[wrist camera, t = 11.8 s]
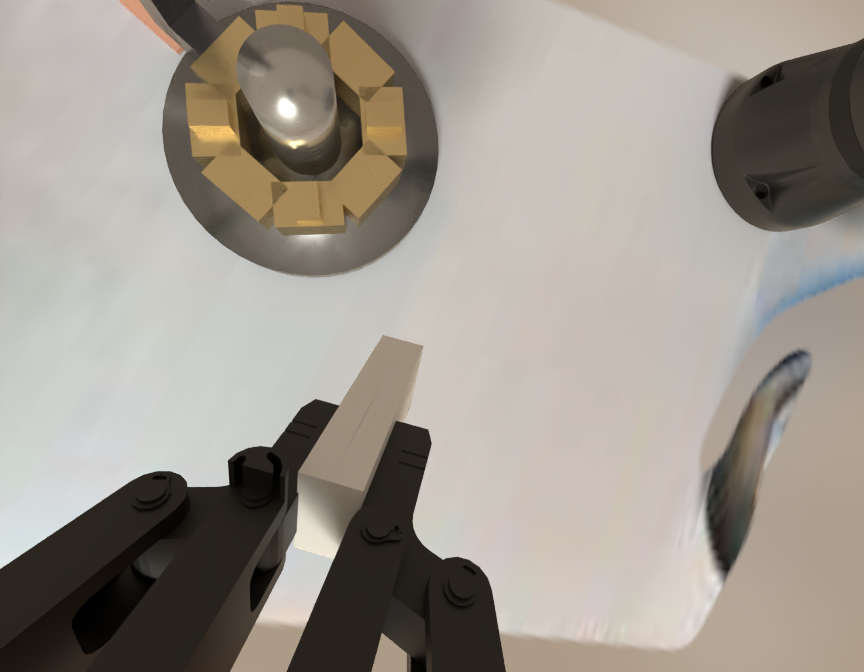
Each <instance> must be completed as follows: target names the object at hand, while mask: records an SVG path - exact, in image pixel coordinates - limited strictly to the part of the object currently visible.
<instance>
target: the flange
mask: <svg viewBox="0 0 864 672" xmlns="http://www.w3.org/2000/svg"><path fill="white" fill-rule="evenodd" d="M276 5H297V6H303V11H304V12H312V13H327V15H328V23H329V32H330V34H331V33H332V32H333V31H334V30H335V29H336V28H337V27H338V26H339V25H340V24H341V23H342V22H343V21H344V22H345V23H346V24H347V25H348V26H349V27H350V28H351V29H352V30H353V31H354V32H355V33H356V34H357V35H358V36H359V37H361V38H362V39H363V40H364V41H365V42H366V43H367V44H368V45H369V46H370V47H371V48H372V49H373V50H374V51H375V52H376V53H377V54H378V55H379V56H380V57H381V58H382V59H383V60H384V61H385V62H386V63H387V64H388V65H389V66H390V67H391V68H392V69H393V70H394V71H395V77H394V84H393V87H402V90H403V104H404V118H405V133H406V147H407V157H406V161H405V164H404V168H403V170H402V172H401V176H400V180H399V183H398V184H397V185H396V187H395V188H394V189H393V190H392V191H391V192H390V193H389V194H388V196H387V197H386V198H385V199H384V200H383V201H382V202H381V203H380V205H379V206H378V207H377V208H376V209H375V210H374V211H373V212H372V214H371V215H370V216H369V217H368V218H367V219H366V220H365V221H364V223H363V224H362V225H361V226H360V227H358V226H357V225H356V224H355V223H354V222H353V221H352V220H351V219H349V218H348V217H347V216H346V215H345V225H346V233H344V234H317V235H290V236H283V235H282V234H281V233H280V232H279V231H278V230H277V229H276V228H275V224H274V225H273V226H272V227H271V228H270V229H269V230H267V229H266V228H265V227H264V226H263V225H261V224H260V223H259V222H258V221H257V220H256V219H254V218H253V217H252V216H251V215H250V214H249V213H247V212H246V211H245V210H244V209H243V208H242V207H240V206H239V205H238V204H237V203H236V202H235V201H233V200H232V199H231V198H230V197H229V196H228V195H226V194H225V193H224V192H223V191H222V190H221V189H219V188H218V187H217V186H216V185H215V184H214V183H212V182H211V181H210V180H209V179H208V178H207V177H206V176H204V175H203V174H202V173H201V172H202V171H203V170H204V169H205V168H204V167H203V166H202V165H201V164H200V163H199V162H198V161H197V160H196V159H194V158H193V157H192V148H191V138H190V129H189V126H188V116H187V107H186V90H185V83H201V81H200V80H199V78H198V77H197V76H196V74H195V73H194V71H193V70H192V68H191V67H190V66H191V65H192V64H193V63H194V62H195V61H196V60H195V59H194V58H193V57H192V56H191V55H190V54H188V53H186V54H185V55H184V57H183V58H182V60H181V61H180V63H179V65H178V67H177V69H176V71H175V73H174V75H173V77H172V80H171V83H170V85H169V88H168V91H167V94H166V100H165V105H164V110H163V127H162V132H163V143H164V151H165V155H166V159H167V164H168V168H169V171H170V173H171V176H172V178H173V181H174V184H175V186H176V188H177V190H178V192H179V194H180V196H181V197H182V199H183V201H184V203H185V204H186V206H187V207H188V209H189V210H190V211H191V213H192V214H193V216H194V217H195V218H196V220H197V221H198V222H199V223H200V224H201V225H202V226H203V227H204V228H205V229H206V230H207V231H208V233H210V234H211V235H212V236H213V237H214V238H215V239H217V240H218V241H219V242H220V243H221V244H223V245H224V246H225V247H227V248H228V249H230V250H231V251H233V252H235V253H236V254H238V255H239V256H241V257H243V258H245V259H247V260H249V261H251V262H253V263H255V264H257V265H260V266H262V267H265V268H267V269H270V270H273V271H276V272H279V273H284V274H288V275H293V276H302V277H330V276H335V275H341V274H346V273H349V272H352V271H355V270H359V269H361V268H363V267H365V266H368V265H370V264H372V263H374V262H376V261H377V260H379V259H380V258H382V257H383V256H385V255H387V254H388V253H389V252H390V251H391V250H393V249H394V248H395V247H396V246H397V245H399V244H400V242H401V241H402V240H403V239H404V238H405V237H406V236H407V235H408V234H409V232H410V231H411V229H412V228H413V226H414V225H415V223H416V222H417V221H418V219H419V217H420V216H421V214H422V212H423V210H424V208H425V206H426V204H427V202H428V200H429V197H430V194H431V191H432V188H433V185H434V181H435V176H436V171H437V163H438V135H437V129H436V123H435V118H434V114H433V111H432V108H431V105H430V101H429V99H428V97H427V95H426V92H425V90H424V88H423V86H422V84H421V82H420V80H419V79H418V77H417V75H416V74H415V72H414V70H413V69H412V67H411V66H410V65H409V63H408V62H407V61H406V60H405V58H404V57H403V56H402V54H401V53H400V52H399V51H398V50H397V49H396V48H395V47H394V46H393V45H392V44H391V43H390V42H389V41H388V40H386V39H385V38H384V37H383V36H381V35H380V34H379V33H378V32H376V31H375V30H374V29H372V28H371V27H369V26H367V25H366V24H364V23H363V22H361V21H359V20H357V19H355V18H353V17H351V16H349V15H347V14H345V13H343V12H340V11H337V10H333V9H330V8H327V7H324V6H319V5H314V4H309V3H297V2H281V3H269V4H264V5H259V6H255V7H251V8H248V9H245V10H243V11H240V12H237V13H235V14H233V15H231V16H229V17H227V18H225V19H223V20H222V21H220V22H218V23H219V24H220V25H221V26H222V27H223V28H224V29H225V30H226V29H227V28H228V27H229V26H230V25H231V24H232V23H233V22H234V21H235V19H236V18H237V17H238V16H240V17H241V18H242V19H243V20H244V21H245V22H246V23H247V24H248V25H249V26H250V27H251V28H252V29H253V30H254V31H255V32H253V33H252V34H251V35H250V36H249V37H248V38H247V39H246V40H245V41H244V43H243V44H242V46H241V48H240V50H239V53H238V56H237V62H236V72H237V78H238V82H239V85H240V87H241V89H242V91H243V93H244V95H245V97H246V99H247V101H248V102H249V104H250V106H251V108H252V110H253V111H252V112H251V113H250V114H249V115H248V121H249V132H250V142H251V153H252V157H253V158H254V159H255V160H257V161H258V162H259V163H260V164H261V165H262V166H263V167H265V168H266V169H267V170H268V171H269V172H270V173H271V174H272V175H274V176H275V177H276V178H277V179H278V180H279V181H280V182H296V181H332V180H333V179H334V177H335V176H336V175H337V174H338V173H339V172H340V171H341V170H342V169H343V168H344V166H345V165H346V164H347V163H348V162H349V161H350V160H351V159H352V158H353V157H354V155H355V154H356V153H357V152H358V151H359V150H360V149H361V148H362V140H361V127H360V117H359V116H358V115H357V114H356V113H355V112H354V111H353V110H352V109H351V108H350V107H349V106H348V105H347V104H346V103H345V102H344V101H343V100H342V99H341V98H339V97H338V96H337V95H336V92H335V84H334V76H333V69H332V65H331V62H330V59H329V57H328V54H327V53H326V51H325V49H324V48H323V47H322V45H321V44H320V43H319V42H318V41H317V40H316V39H315V38H314V37H313V36H312V35H310V34H309V33H307V32H306V31H304V30H302V29H300V28H297V27H294V26H290V25H285V24H275V25H269V26H265V27H262V28H260V29H258V30H257V27H256V16H255V10H270V11H277V7H276Z"/></svg>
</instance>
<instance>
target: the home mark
mask: <svg viewBox="0 0 864 672" xmlns="http://www.w3.org/2000/svg"><path fill="white" fill-rule="evenodd" d="M119 1H120V2H121V3H122V4H123V5H124V6H125V7H126V8H127V9H128V10H129V11H131V12H132V13H133V14H134V15H135V16H136V17H137V18H138V19H140V20H141V21H142V22H143V23H144V24H145V25H146V26H148V27H149V28H150V29H151V30H152V31H153V32H154V33H155V34H157V35H158V36H159V37H160V38H161V39H162V40H163V41H164V42H166V43H167V44H168V45H169V46H170V47H171V48H172V49H173V50H175V51H176V52H177V53H178V54H180V53H181V52H182V51H183V50H184V49H183V48H182V47H181V46H180V45H178V44H177V43H176V42H175V41H174V40H173V39H172V38H171V37H170V36H169V35H167V34H166V33H165V32H164V31H163V30H162V29H161V28H160V27H159V26H158V25H156V23H155V22H154V21H153V19H152V18H151V16H150V15H149V14H148V12H147V11H146V9H145V8H144V7H143V5H142V4H141V2H140V1H139V0H119Z"/></svg>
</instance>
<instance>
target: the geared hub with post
mask: <svg viewBox="0 0 864 672" xmlns="http://www.w3.org/2000/svg"><path fill="white" fill-rule="evenodd" d="M139 1H140V2H141V4H142V5H143V7H144V8H145V9H146V11H147V12H148V14H149V15H150V16H151V18H152V19H153V21H154V22H155V23H156V25H158V26H159V27H160V28H161V29H162V30H163V31H164V32H165V33H166V34H167V35H169V36H170V37H171V38H172V39H173V40H174V41H175V42H176V43H177V44H178V45H180V46H181V47H182V48H183V49H184V50H185V51H186V52H187V53H188V54H190V55H191V56H192V57H193V58H194V59H195V60H196V61H195V62H194V63H193V64H192V65H191V66H190V67H191V68H192V70H193V71H194V73H195V74H196V76H197V77H198V78H199V80H200V81H201V83H185V90H186V107H187V116H188V126H189V129H190V138H191V148H192V157H193V158H194V159H196V160H197V161H198V162H199V163H200V164H201V165H202V166H203V167H204V168H205V169H204V170H203V171H202V172H201V173H202V174H203V175H204V176H206V177H207V178H208V179H209V180H210V181H211V182H212V183H214V184H215V185H216V186H217V187H218V188H219V189H221V190H222V191H223V192H224V193H225V194H226V195H228V196H229V197H230V198H231V199H232V200H233V201H235V202H236V203H237V204H238V205H239V206H240V207H242V208H243V209H244V210H245V211H246V212H247V213H249V214H250V215H251V216H252V217H253V218H254V219H256V220H257V221H258V222H259V223H260V224H261V225H263V226H264V227H265V228H266V229H267V230H269V229H270V228H271V227H272V226H273V225H274V224H275V228H276V229H277V230H278V231H279V232H280V233H281V234H282V235H283V236H290V235H317V234H344V233H346V225H345V215H346V216H347V217H348V218H349V219H351V220H352V221H353V222H354V223H355V224H356V225H357V226H358V227H360V226H361V225H362V224H363V223H364V221H365V220H366V219H367V218H368V217H369V216H370V215H371V214H372V212H373V211H374V210H375V209H376V208H377V207H378V206H379V205H380V203H381V202H382V201H383V200H384V199H385V198H386V197H387V196H388V194H389V193H390V192H391V191H392V190H393V189H394V188H395V187H396V185H397V184H398V183H399V180H400V176H401V172H402V170H403V168H404V164H405V161H406V157H407V147H406V133H405V118H404V104H403V90H402V87H393V84H394V77H395V71H394V70H393V69H392V68H391V67H390V66H389V65H388V64H387V63H386V62H385V61H384V60H383V59H382V58H381V57H380V56H379V55H378V54H377V53H376V52H375V51H374V50H373V49H372V48H371V47H370V46H369V45H368V44H367V43H366V42H365V41H364V40H363V39H362V38H361V37H359V36H358V35H357V34H356V33H355V32H354V31H353V30H352V29H351V28H350V27H349V26H348V25H347V24H346V23H345V22H344V21H343V22H342V23H341V24H340V25H339V26H338V27H337V28H336V29H335V30H334V31H333V32H332V33H331V34H330V32H329V23H328V15H327V13H312V12H304V11H303V6H297V5H276V7H277V11H270V10H255V16H256V27H257V30H258V29H260V28H262V27H265V26H269V25H275V24H285V25H290V26H294V27H297V28H300V29H302V30H304V31H306V32H307V33H309V34H310V35H312V36H313V37H314V38H315V39H316V40H317V41H318V42H319V43H320V44H321V45H322V47H323V48H324V49H325V51H326V53H327V54H328V57H329V59H330V62H331V65H332V69H333V76H334V84H335V92H336V95H337V96H338V97H339V98H341V99H342V100H343V101H344V102H345V103H346V104H347V105H348V106H349V107H350V108H351V109H352V110H353V111H354V112H355V113H356V114H357V115H358V116H359V117H360V127H361V140H362V148H361V149H360V150H359V151H358V152H357V153H356V154H355V155H354V157H353V158H352V159H351V160H350V161H349V162H348V163H347V164H346V165H345V166H344V168H343V169H342V170H341V171H340V172H339V173H338V174H337V175H336V176H335V177H334V179H333V180H332V181H296V182H280V181H279V180H278V179H277V178H276V177H275V176H274V175H272V174H271V173H270V172H269V171H268V170H267V169H266V168H265V167H263V166H262V165H261V164H260V163H259V162H258V161H257V160H255V159H254V158H253V157H252V153H251V142H250V132H249V121H248V115H249V114H250V113H251V112H252V111H253V110H252V108H251V106H250V104H249V102H248V101H247V99H246V97H245V95H244V93H243V91H242V89H241V87H240V85H239V82H238V78H237V72H236V62H237V56H238V53H239V50H240V48H241V46H242V44H243V43H244V41H245V40H246V39H247V38H248V37H249V36H250V35H251V34H252V33H253V32H255V31H254V30H253V29H252V28H251V27H250V26H249V25H248V24H247V23H246V22H245V21H244V20H243V19H242V18H241V17H240V16H238V17H237V18H236V19H235V21H234V22H233V23H232V24H231V25H230V26H229V27H228V28H227V29H226V30H225V29H224V28H223V27H222V26H221V25H220V24H219V23H218V22H217V21H216V20H215V19H214V18H213V17H211V16H210V15H209V14H208V13H207V12H206V11H205V10H204V9H203V8H202V7H201V6H200V5H199V4H198V3H196V2H195V0H139Z"/></svg>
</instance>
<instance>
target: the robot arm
mask: <svg viewBox="0 0 864 672" xmlns="http://www.w3.org/2000/svg"><path fill="white" fill-rule="evenodd" d="M712 155H713V166H714V171H715V175H716V179H717V182H718V185H719V187H720V190H721V192H722V194H723V196H724V197H725V199H726V201H727V202H728V204H729V205H730V206H731V208H732V209H733V210H734V211H735V212H736V213H737V214H738V215H739V216H740V217H741V218H743V219H744V220H745V221H747V222H748V223H750V224H752V225H754V226H756V227H758V228H761V229H764V230H768V231H775V232H783V231H790V230H796V229H801V228H806V227H811V226H814V225H818V224H820V223H823V222H826V221H828V220H830V219H832V218H834V217H836V216H838V215H840V214H842V213H844V212H846V211H848V210H850V209H851V208H853V207H855V206H857V205H859V204H861V203H863V202H864V38H863V39H862V40H860V41H858V42H856V43H853V44H849V45H845V46H841V47H837V48H833V49H830V50H826V51H822V52H818V53H814V54H810V55H807V56H803V57H799V58H795V59H792V60H787V61H784V62H781V63H779V64H776V65H774V66H772V67H770V68H768V69H767V70H765V71H763V72H761V73H760V74H758V75H756V76H755V77H753V78H751V79H750V80H748V81H747V82H745V83H744V84H742V85H741V86H740V87H739V88H738V89H737V90H736V91H735V92H734V93H733V94H732V95H731V96H730V98H729V99H728V100H727V102H726V104H725V105H724V107H723V109H722V111H721V113H720V115H719V118H718V120H717V123H716V127H715V131H714V137H713V146H712ZM422 350H423V346H421V345H417V344H414V343H410V342H406V341H402V340H399V339H395V338H391V337H388V336H384V335H383V336H382V338H381V339H380V341H379V343H378V344H377V346H376V347H375V349H374V351H373V352H372V354H371V355H370V357H369V359H368V360H367V362H366V363H365V365H364V367H363V368H362V370H361V372H360V373H359V375H358V376H357V378H356V380H355V381H354V383H353V384H352V386H351V388H350V389H349V391H348V392H347V394H346V396H345V397H344V399H343V401H342V402H341V404H340V405H335V404H331V403H328V402H324V401H321V400H317V399H315V400H313V401H312V402H310V403H309V404H307V405H305V406H304V407H302V408H301V409H300V410H299V412H298V413H297V414H296V416H295V417H294V419H293V420H292V422H291V423H290V424H289V425H288V427H287V428H286V429H285V432H283V433H282V435H281V436H280V437H279V439H278V440H277V441H276V443H275V444H274V445H273V447H272V448H271V447H263V446H259V447H252V448H247V449H245V450H243V451H240V452H238V453H236V454H235V455H234V456H233V457H232V458H230V459H229V460H228V469H229V484H230V485H227V486H221V487H187V481H186V480H185V479H184V478H183V477H182V476H181V475H179V474H176V473H173V472H170V471H157V472H153V473H149V474H145V475H142V476H140V477H138V478H136V479H135V480H133V481H131V482H129V483H128V484H126V485H125V486H123V487H122V488H120V489H119V490H117V491H116V492H114V493H113V494H111V495H110V496H108V497H107V498H105V499H104V500H102V501H101V502H99V503H98V504H96V505H95V506H93V507H92V508H90V509H89V510H87V511H86V512H84V513H83V514H82V515H80V516H79V517H77V518H76V519H74V520H73V521H71V522H70V523H68V524H67V525H65V526H64V527H62V528H61V529H59V530H58V531H56V532H55V533H53V534H52V535H50V536H49V537H47V538H46V539H44V540H43V541H41V542H40V543H38V544H37V545H35V546H34V547H32V548H31V549H29V550H28V551H26V552H25V553H23V554H22V555H20V556H19V557H18V558H16V559H15V560H13V561H12V562H10V563H9V564H7V565H6V566H4V567H3V568H1V569H0V672H230V670H231V669H232V667H233V664H234V663H235V661H236V659H237V657H238V655H239V653H240V651H241V649H242V647H243V645H244V643H245V641H246V640H247V638H248V635H249V634H250V632H251V630H252V628H253V626H254V624H255V622H256V620H257V618H258V616H259V614H260V612H261V611H262V609H263V607H264V605H265V603H266V601H267V599H268V597H269V595H270V593H271V591H272V589H273V587H274V585H275V583H276V582H277V580H278V578H279V576H280V574H281V572H282V570H283V567H284V563H285V559H286V551H287V549H288V547H289V545H290V543H291V542H292V540H293V538H294V536H295V541H294V547H296V548H299V549H302V550H305V551H309V552H312V553H315V554H318V555H322V556H325V557H328V558H331V559H334V560H333V563H332V565H331V567H330V570H329V572H328V575H327V577H326V579H325V582H324V584H323V586H322V589H321V591H320V594H319V596H318V598H317V601H316V603H315V606H314V608H313V610H312V613H311V615H310V617H309V620H308V622H307V625H306V627H305V629H304V632H303V634H302V637H301V639H300V641H299V644H298V646H297V648H296V651H295V653H294V656H293V658H292V660H291V663H290V665H289V667H288V670H287V672H371V671H372V667H373V664H374V660H375V655H376V652H377V648H378V645H379V641H380V637H381V634H382V633H383V634H384V635H386V636H387V637H388V638H389V639H390V640H392V641H393V642H394V643H395V644H396V645H398V646H399V647H400V648H401V649H403V650H404V651H405V652H406V653H407V672H506V671H505V665H504V658H503V653H502V647H501V641H500V635H499V629H498V623H497V617H496V612H495V606H494V600H493V594H492V589H491V586H490V583H489V581H488V578H487V576H486V575H485V574H484V572H483V571H482V570H481V569H480V567H479V566H477V565H476V564H474V563H473V562H471V561H470V560H467V559H463V558H460V557H453V558H446V559H444V560H442V559H441V558H439V557H438V556H437V555H435V554H434V553H432V552H431V551H429V550H428V549H427V548H426V547H425V546H424V545H422V543H421V542H420V540H419V539H418V538H417V536H416V534H415V531H414V528H413V522H412V520H413V513H414V509H415V505H416V501H417V498H418V494H419V490H420V486H421V482H422V479H423V475H424V471H425V467H426V463H427V459H428V456H429V452H430V448H431V444H432V443H431V439H430V435H429V431H428V429H424V428H421V427H417V426H413V425H410V424H406V423H404V421H405V418H406V416H407V413H408V410H409V407H410V405H411V400H412V395H413V391H414V386H415V382H416V377H417V373H418V368H419V364H420V359H421V354H422Z"/></svg>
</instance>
